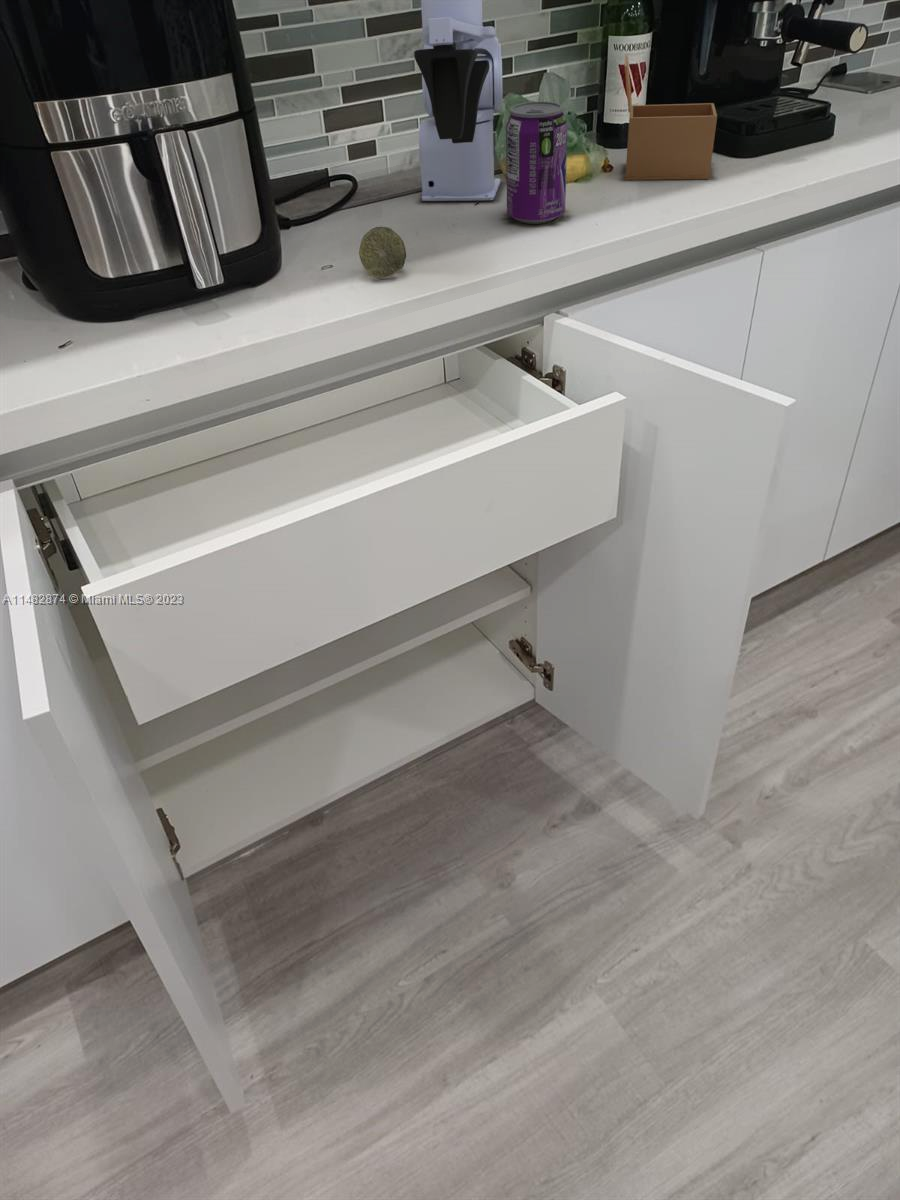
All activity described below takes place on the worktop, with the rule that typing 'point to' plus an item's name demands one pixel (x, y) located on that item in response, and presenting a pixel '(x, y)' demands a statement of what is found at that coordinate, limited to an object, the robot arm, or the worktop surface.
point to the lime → (382, 252)
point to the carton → (670, 141)
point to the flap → (628, 83)
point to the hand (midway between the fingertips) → (456, 140)
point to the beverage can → (536, 161)
